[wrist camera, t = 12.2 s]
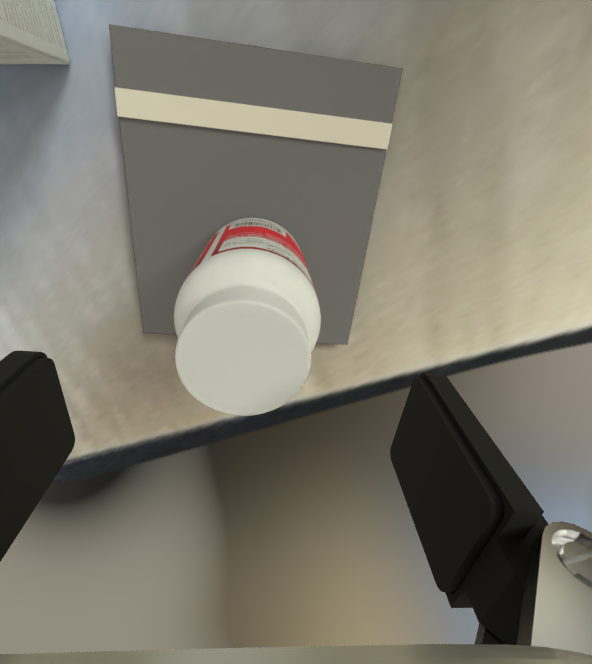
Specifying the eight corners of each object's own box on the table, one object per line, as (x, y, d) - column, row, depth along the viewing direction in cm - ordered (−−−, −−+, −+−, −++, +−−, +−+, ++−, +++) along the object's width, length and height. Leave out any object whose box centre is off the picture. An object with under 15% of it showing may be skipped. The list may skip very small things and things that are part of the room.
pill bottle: (239, 327, 23) (219, 454, 14) (183, 248, 21) (108, 337, 11) (321, 283, 22) (361, 388, 13) (273, 195, 20) (277, 241, 10)
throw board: (117, 30, 17) (106, 22, 16) (396, 72, 18) (404, 67, 17) (148, 326, 24) (142, 334, 23) (344, 337, 26) (348, 346, 25)
